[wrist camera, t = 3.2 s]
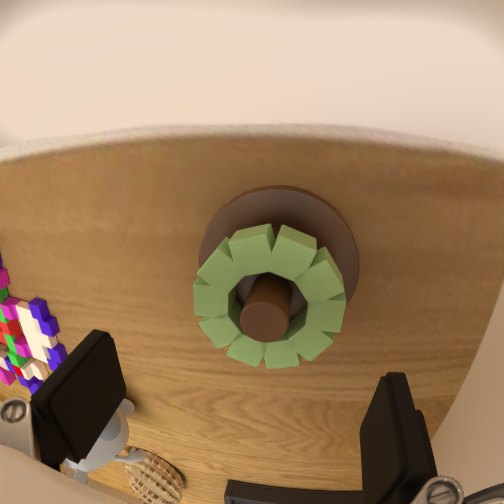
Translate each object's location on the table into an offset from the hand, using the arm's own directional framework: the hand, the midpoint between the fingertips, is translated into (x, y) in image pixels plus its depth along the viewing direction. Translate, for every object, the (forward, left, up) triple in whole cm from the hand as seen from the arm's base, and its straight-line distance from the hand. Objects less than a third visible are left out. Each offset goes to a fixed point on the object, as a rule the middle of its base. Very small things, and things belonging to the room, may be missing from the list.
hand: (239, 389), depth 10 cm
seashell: (+13, +31, -12) cm, 36 cm away
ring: (0, 0, -8) cm, 8 cm away
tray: (-5, +35, -12) cm, 37 cm away
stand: (0, 0, -12) cm, 12 cm away
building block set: (+31, +10, -12) cm, 35 cm away
